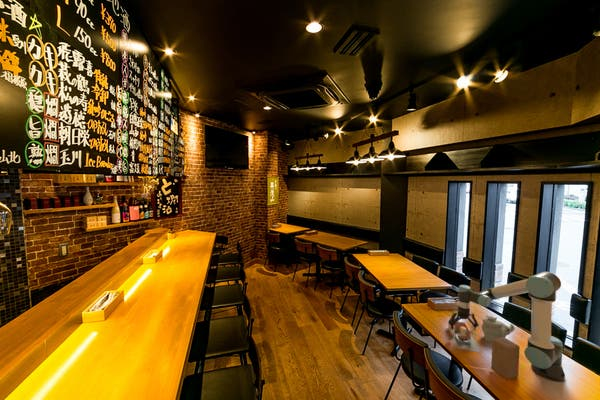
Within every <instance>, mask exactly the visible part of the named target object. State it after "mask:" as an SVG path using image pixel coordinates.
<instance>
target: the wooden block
mask: <svg viewBox="0 0 600 400" xmlns="http://www.w3.org/2000/svg"><path fill="white" fill-rule="evenodd" d="M491 344H492V345H491V364H490V365H491V367H490V368H491V369H492V371H493V372H495V373H497V374H498V375H499V376H501V377H502V378H504V379H505V380H510V379H513V378H517V377H518V376H519V368H520V367H519V365H520V364H519V363H520V348H521V347H520V345H518V344H517V343H515V342H513V341H511V340H509V339H508V338H506V337H505V338H504V337H502V338H497V339H493V340H492V342H491Z"/></svg>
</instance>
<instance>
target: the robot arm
mask: <svg viewBox="0 0 600 400" xmlns="http://www.w3.org/2000/svg"><path fill="white" fill-rule="evenodd" d="M561 287H562V281H561V278H559V276H557V275H556V274H554V273H552V272H550V271H541V272H539V273H537V274H534V275H531V276H529V277H528V278H526V279H522V280H518V281H514V282H510V283H507V284H503V285H499V286H495V287H491V288H485V289H484V290H482V291H479V292H477V291H476V292H475V291H474V290H472V288H471V287H470V286H469V285H466V284H460V285H459V286H458V291H457V293H458V294H457V295H458V298H457V312H455V311H453V312H452V315H451V316H450V318H449V320H448V321H447V323H448V324H450V325H451V329H452V333H453V334H454V335H455V326H454V325H455V324H456V323H457V322H458V321H459V322H460V320H468V321H469V322H470V324H471V325H470V327H471V328H470V330H471V335H472V336H473V337H474V336H475V332H476V329H477V327H479V326H480V325H479V323H478V321H477V319H476V317H475V313H473V312H471V303H473V304H477V305H479V306H481V307H487V308H488V307H489V306H490V305H491V303H492V302H491V301H494V300H495V301H496V300H500V299H504V298H508V297H513V296H517V295H522V294H526V293H528V296H529V298H530V299H531V319H530V322H531V323H530V324H531V325H530V326H531V327H530V336H529V337H527V347H526V348H525V349H524V353H523V355H524V356H525V358H526V360H527V361H529V363H530V367H531V369H532V371H533V372H534V373H535V374H538V375H539V376H540V377H543V378H545V379H546V380H548V381H549V380H550V381H554V382H561V383H562V382H564V381H565V380H566V374H565V372H564V368H563V364H562V362H563V348H564V343H563V342H562V341H561V339H559V338H558V337H555V336H553V335H552V311H553V310H552V306H553V305H552V304H553V302H556V299H557V295H556V294H557V291H559V290H560V289H561ZM470 317H471V318H470Z"/></svg>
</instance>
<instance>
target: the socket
mask: <svg viewBox="0 0 600 400" xmlns="http://www.w3.org/2000/svg"><path fill="white" fill-rule="evenodd" d="M455 338H456V340H457V342H458V343H461V344H468V345H471V342H470V340H469V339H468V337H467V336H466V340H467V341H464V340H459V338H460V335H457V334H455Z"/></svg>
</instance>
